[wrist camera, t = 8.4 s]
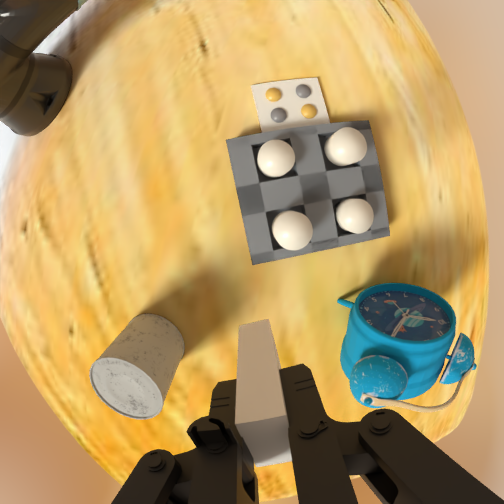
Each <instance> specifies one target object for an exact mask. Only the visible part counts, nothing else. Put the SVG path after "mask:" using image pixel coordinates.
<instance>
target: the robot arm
mask: <svg viewBox="0 0 504 504" xmlns="http://www.w3.org/2000/svg"><path fill="white" fill-rule="evenodd" d="M86 1H88V0H0V121H1V122H3V123H4V124H5V125H7V126H8V127H9V128H10V129H11V130H12V131H13V132H14V133H16V134H19V135H23V136H33V135H36V134H38V133H39V132H41V131H42V130H43V129H45V128H46V127H47V126H48V125H49V124H50V123H51V122H52V120H53V119H54V118H55V117H56V115H57V114H58V112H59V111H60V109H61V107H62V106H63V104H64V102H65V100H66V97H67V95H68V92H69V89H70V86H71V81H72V69H71V66H70V64H69V62H68V61H66V60H65V59H64V58H62V57H60V56H58V55H54V54H50V55H47V54H42V53H33V51H34V50H35V49H36V48H37V47H38V46H39V44H40V43H41V42H42V41H43V40H44V39H45V38H46V37H47V36H48V35H49V34H50V33H51V32H52V31H53V30H55V29H56V28H57V27H58V26H59V25H60V24H61V23H62V22H63V21H64V20H65V19H67V18H68V17H69V16H70V15H71V14H72V13H74V12H75V11H77V10H79V9H80V8H81V6H82V5H83V4H84V3H85V2H86ZM211 400H212V401H211V405H210V407H211V408H210V412H209V416H205V417H201V418H200V419H198V420H196V421H194V422H193V423H192V424H191V425H190V426H189V428H188V430H187V433H188V435H189V436H190V438H191V439H192V441H193V442H194V444H195V445H196V448H195V449H193V450H190V451H188V452H184V453H181V454H177V455H174V456H173V455H172V454H171V453H170V452H168V451H166V450H161V449H157V450H153V451H150V452H148V453H146V454H145V455H144V456H143V457H142V458H141V459H140V460H139V462H138V463H137V465H136V466H135V468H134V470H133V471H132V473H131V474H130V476H129V477H128V479H127V480H126V482H125V483H124V485H123V486H122V488H121V490H120V491H119V492H118V494H117V496H116V497H115V499H114V500H113V502H112V503H111V504H259V496H258V479H257V476H256V474H255V472H254V463H255V465H256V467H260V466H267V465H273V464H279V463H284V462H289V461H292V463H293V469H294V475H295V481H296V487H297V494H298V500H299V504H358V502H357V498H356V495H355V492H354V489H353V486H352V484H351V480H350V477H349V475H360V476H361V477H362V479H363V480H364V481H365V482H366V484H367V485H368V486H369V487H370V489H371V490H372V491H373V492H374V494H376V496H377V497H378V498H379V499H380V501H381V502H382V503H383V504H504V500H502V499H501V498H500V497H498V496H497V495H496V494H495V493H493V492H492V491H491V490H490V489H488V488H487V487H486V486H484V485H483V484H482V483H481V482H480V481H478V480H477V479H476V478H474V477H473V476H472V475H471V474H469V473H468V472H467V471H466V470H465V469H464V468H462V467H461V466H460V465H459V464H457V463H456V462H455V461H454V460H452V459H451V458H450V457H449V456H448V455H447V454H445V453H444V452H443V451H442V450H441V449H439V448H438V447H437V446H436V445H435V444H433V443H432V442H431V441H430V440H429V439H428V438H426V437H425V436H424V435H423V434H422V433H421V432H419V431H418V430H417V429H416V428H415V427H414V426H412V425H411V424H410V423H409V422H408V421H407V420H405V419H404V418H403V417H402V416H401V415H400V414H399V413H397V412H395V411H393V410H390V409H378V410H374V411H372V412H370V413H368V414H367V415H365V416H364V417H363V418H362V420H361V421H360V422H338V421H335V420H333V419H331V418H330V417H329V416H328V415H327V414H326V412H325V410H324V407H323V404H322V401H321V398H320V395H319V392H318V390H317V387H316V384H315V381H314V378H313V375H312V372H311V370H310V369H309V368H308V367H307V366H305V365H304V364H299V365H295V366H291V367H287V368H283V369H281V366H280V361H279V357H278V353H277V349H276V346H275V342H274V338H273V334H272V330H271V326H270V322H269V319H266V320H262V321H257V322H253V323H249V324H244V325H240V326H239V338H238V360H237V379H234V380H228V381H222V382H218V384H217V385H216V387H215V388H214V389H213V392H212V398H211Z"/></svg>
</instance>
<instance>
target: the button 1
mask: <svg viewBox="0 0 504 504" xmlns="http://www.w3.org/2000/svg"><path fill="white" fill-rule="evenodd" d="M294 162H295V154H294V151H293V149H292V147H291V146H290V145H289V144H288V143H286V142H284V141H282V140H270V141H268V142H266V143H264V144H263V145H262V147H261V148H260V150H259V153H258V158H257V165H258V168H259V170H260V171H261V172H262V173H263V174H264V175H265V176H267V177H271V178H278V177H281V176H283V175H284V174H286V173H287V172H288V171H290V170H291V168H292V167H293V165H294Z"/></svg>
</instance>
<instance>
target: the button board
mask: <svg viewBox="0 0 504 504" xmlns="http://www.w3.org/2000/svg"><path fill="white" fill-rule="evenodd" d="M344 127H351V128H354V129H356V130H358V131H359V132H360V133H361V134H362V135H363V136H364V138H365V140H366V143H367V152H366V155H365V156H364V158H363V159H362V160H360V161H358V162H355V163H352V164H349V165H346V166H338V165H335V164H333V163H332V162H330V161H329V159H328V158H327V156H326V154H325V150H324V146H325V142H326V140H327V139H328V138H329V137H330V136H331V135H333V134H334V133H335V132H337V131H338V130H340V129H341V128H344ZM270 140H282V141H284V142H286V143H288V144H289V145H290V146H291V147H292V149H293V151H294V154H295V162H294V165H293V167H292V168H291V170H290V171H288V172H287V173H286V174H284V175H283V176H281V177H278V178H271V177H267V176H265V175H264V174H263V173H262V172H261V171H260V170H259V168H258V165H257V158H258V153H259V150H260V148H261V147H262V145H263V144H264V143H266V142H268V141H270ZM226 143H227V147H228V152H229V157H230V162H231V166H232V171H233V176H234V180H235V185H236V190H237V194H238V199H239V204H240V209H241V213H242V218H243V223H244V227H245V232H246V237H247V241H248V246H249V251H250V255H251V260H252V265H256V264H261V263H265V262H270V261H275V260H280V259H285V258H289V257H294V256H299V255H304V254H308V253H313V252H318V251H322V250H327V249H332V248H336V247H341V246H345V245H350V244H355V243H359V242H364V241H368V240H373V239H377V238H382V237H386V236H390V231H389V222H388V214H387V207H386V200H385V194H384V188H383V182H382V177H381V171H380V166H379V162H378V157H377V152H376V148H375V143H374V139H373V135H372V131H371V127H370V123H369V120H366V121H350V122H338V123H327V124H318V125H310V126H302V127H294V128H287V129H281V130H275V131H269V132H263V133H258V134H252V135H247V136H242V137H237V138H232V139H228V140H226ZM343 199H363V200H365V201H366V202H368V203H369V204H370V206H371V207H372V210H373V213H374V219H373V223H372V225H371V227H370V228H369V229H368V230H367V231H366V232H364V233H360V234H356V233H352V232H350V231H347V230H344V229H341V228H340V227H339V226H338V225H337V224H336V222H335V216H334V208H335V206H336V204H337V203H338V202H339V201H341V200H343ZM287 210H291V211H295V212H299V213H302V214H304V215H305V216H306V217H307V218H308V219H309V220H310V222H311V224H312V227H313V234H312V238H311V240H310V242H309V243H308V244H307V245H306V246H305V247H304V248H302V249H299V250H288V249H285V248H283V247H282V246H281V245H280V244H279V243H278V242H277V240H276V239H275V237H274V235H273V233H272V223H273V220H274V218H275V217H276V216H277V215H278V214H279V213H281V212H283V211H287Z"/></svg>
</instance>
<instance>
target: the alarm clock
mask: <svg viewBox="0 0 504 504" xmlns="http://www.w3.org/2000/svg"><path fill="white" fill-rule="evenodd" d="M337 302H338V303H340V304H341V305H343V306H346V307H349V308H351V311H350V314H349V320H348V327H347V332H346V335H345V337H344V340H343V343H342V349H341V356H340V361H341V366H342V369H343V371H344V373H345V375H346V376H347V377H348V379H349V380H350V389H351V392H352V394H353V396H354V398H355V399H356V400H357V401H358V402H359V403H361V404H362V405H364V406H367V407H371V408H381V407H385V406H397V407H402V408H406V409H410V410H413V411H418V412H435V411H439V410H442V409H444V408H445V407H447V406H448V405H449V404H451V403H452V401H453V400H454V399H455V397H456V396H457V394H458V391H459V389H460V386H461V383H462V381H463V379H464V378H465V377H466V376H467V375H468V374H469V373H470V372H471V370H475V369H476V366H477V365H476V364H475V363H474V360H475V358H474V347H473V344H472V342H471V340H470V339H469V338H468V337H467V336H466V335H465V334H463V333H460V335H459V338H458V340H457V342H456V344H455V347H454V349H453V352H452V354H451V356H450V355H447V353H448V351H449V349H450V347H451V344H452V342H453V339H454V337H455V325H456V316H455V313H454V311H453V309H452V307H451V306H450V305H449V304H448V302H447V301H445V300H444V299H443V298H442V297H441V296H439V295H437V294H436V293H434V292H432V291H430V290H427V289H425V288H422V287H419V286H415V285H411V284H404V283H384V284H378V285H375V286H371V287H369V288H367V289H365V290H364V291H362V292H361V293H360V294H359V295H358V297H357V298H356V300H355V303H353V302H350V301H347V300H344V299H338V301H337ZM446 356H447V357H446ZM445 358H447V359H449V361H448V363H447V365H446V368H445V370H444V372H443V375H442V377H441V379H440V382H439V383H443V384H451V383H455V382H457V381H459V380H460V381H459V383H458V385H457V388H456V390H455V393H454V394H453V396H452V397H451V398H450V399H449V400H448V401H447V402H446V403H444V404H442V405H439V406H433V407H424V406H417V405H413V404H410V403H406V402H403V401H398V400H405V399H410V398H414V397H416V396H419V395H421V394H423V393H425V392H426V391H427V390H429V389H430V388H431V387H432V386H433V385H434V383H435V382H436V380H437V378H438V376H439V374H440V373H441V370H442V368H443V366H444V361H445Z"/></svg>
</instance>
